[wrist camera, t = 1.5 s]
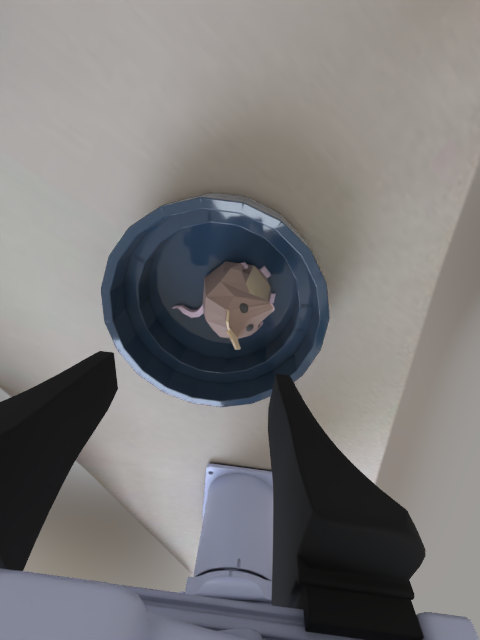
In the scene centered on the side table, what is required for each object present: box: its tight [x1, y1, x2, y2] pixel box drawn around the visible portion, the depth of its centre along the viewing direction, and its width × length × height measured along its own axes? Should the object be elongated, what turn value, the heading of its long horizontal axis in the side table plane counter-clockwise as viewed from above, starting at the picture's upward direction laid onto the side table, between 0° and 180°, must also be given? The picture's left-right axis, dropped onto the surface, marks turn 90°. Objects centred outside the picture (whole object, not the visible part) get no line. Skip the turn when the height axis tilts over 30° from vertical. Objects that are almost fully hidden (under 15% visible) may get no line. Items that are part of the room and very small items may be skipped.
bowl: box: [101, 193, 329, 407], centre depth 20 cm, size 14×14×4 cm
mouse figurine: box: [173, 261, 276, 350], centre depth 19 cm, size 5×8×7 cm, turn 106°
